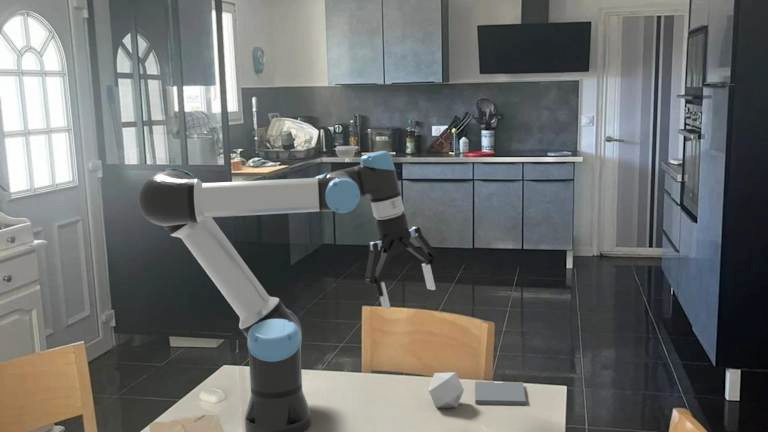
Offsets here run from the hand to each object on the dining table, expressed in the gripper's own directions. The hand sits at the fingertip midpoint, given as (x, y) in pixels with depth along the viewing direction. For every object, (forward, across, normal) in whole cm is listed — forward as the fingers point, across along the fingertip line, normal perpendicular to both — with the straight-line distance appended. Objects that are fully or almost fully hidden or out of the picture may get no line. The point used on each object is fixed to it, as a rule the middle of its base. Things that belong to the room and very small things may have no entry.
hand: (409, 298), depth 192 cm
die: (+26, -2, -9) cm, 27 cm away
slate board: (+28, +12, -11) cm, 33 cm away
